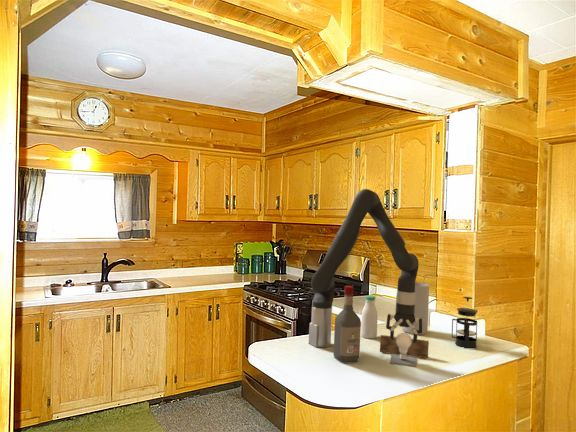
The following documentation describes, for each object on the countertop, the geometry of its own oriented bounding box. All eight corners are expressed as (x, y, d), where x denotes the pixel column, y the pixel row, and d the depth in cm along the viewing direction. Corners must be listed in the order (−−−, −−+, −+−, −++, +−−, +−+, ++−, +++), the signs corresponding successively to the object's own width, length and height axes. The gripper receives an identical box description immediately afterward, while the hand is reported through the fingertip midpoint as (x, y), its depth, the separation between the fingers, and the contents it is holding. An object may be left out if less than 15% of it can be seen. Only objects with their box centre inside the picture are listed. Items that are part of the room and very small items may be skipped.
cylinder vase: (424, 329, 215) (426, 282, 215) (429, 336, 203) (431, 286, 203) (400, 327, 217) (402, 281, 217) (404, 334, 205) (406, 285, 205)
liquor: (361, 361, 163) (364, 288, 163) (341, 364, 160) (344, 288, 160) (350, 354, 172) (353, 284, 172) (331, 356, 168) (334, 284, 168)
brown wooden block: (379, 352, 175) (380, 336, 175) (380, 349, 180) (381, 333, 180) (428, 359, 169) (428, 342, 169) (427, 355, 174) (428, 339, 174)
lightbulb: (392, 356, 169) (393, 330, 169) (407, 356, 169) (408, 330, 169) (398, 362, 162) (399, 335, 162) (413, 362, 163) (414, 335, 163)
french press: (477, 344, 193) (479, 296, 192) (479, 350, 184) (481, 300, 184) (451, 340, 197) (453, 293, 197) (451, 346, 188) (453, 297, 188)
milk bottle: (376, 339, 194) (378, 298, 194) (360, 338, 195) (362, 297, 195) (376, 335, 201) (378, 295, 201) (360, 333, 203) (362, 294, 203)
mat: (390, 363, 162) (390, 362, 162) (391, 355, 172) (391, 354, 172) (416, 367, 160) (416, 365, 159) (415, 358, 169) (415, 357, 169)
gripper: (387, 301, 164) (385, 341, 164) (423, 306, 160) (421, 346, 160) (388, 298, 171) (386, 336, 171) (423, 302, 167) (421, 341, 167)
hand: (403, 341), depth 166 cm, fingers open, 8 cm apart
